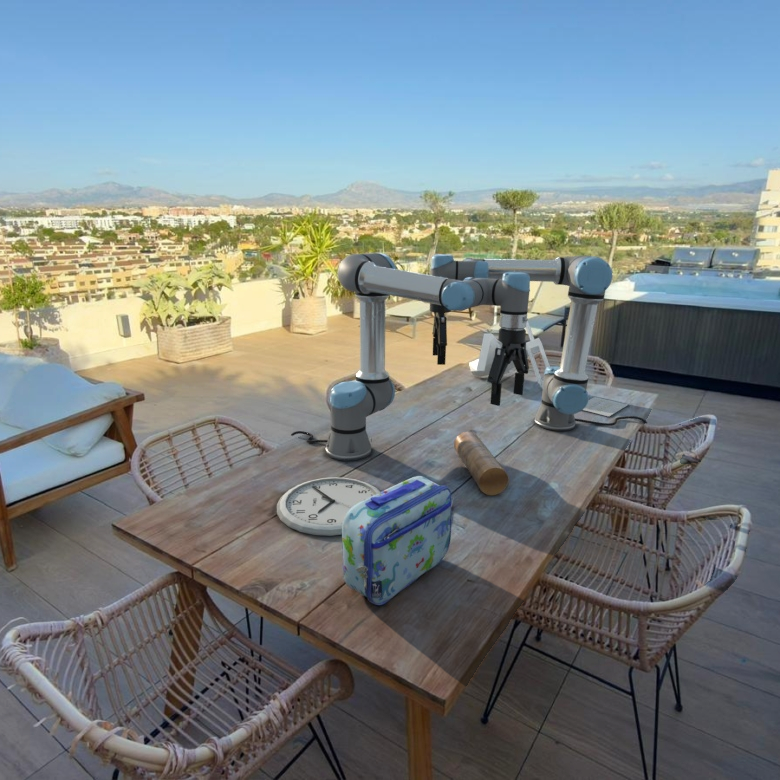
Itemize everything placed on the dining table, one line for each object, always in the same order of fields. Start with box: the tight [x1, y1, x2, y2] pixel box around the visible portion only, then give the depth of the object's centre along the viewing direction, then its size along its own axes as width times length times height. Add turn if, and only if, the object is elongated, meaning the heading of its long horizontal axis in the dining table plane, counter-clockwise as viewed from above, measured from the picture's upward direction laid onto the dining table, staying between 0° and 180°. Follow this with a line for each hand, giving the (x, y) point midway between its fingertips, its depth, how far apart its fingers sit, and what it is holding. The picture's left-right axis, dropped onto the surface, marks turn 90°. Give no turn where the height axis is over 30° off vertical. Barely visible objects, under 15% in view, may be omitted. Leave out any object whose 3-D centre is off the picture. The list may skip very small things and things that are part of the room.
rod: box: [453, 431, 509, 496], centre depth 161 cm, size 27×9×9 cm, turn 8°
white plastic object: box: [468, 320, 551, 390], centre depth 259 cm, size 37×45×31 cm
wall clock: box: [276, 476, 382, 537], centre depth 142 cm, size 30×2×30 cm
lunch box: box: [341, 475, 453, 606], centre depth 111 cm, size 26×11×21 cm, turn 134°
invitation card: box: [582, 396, 629, 418], centre depth 226 cm, size 21×1×15 cm
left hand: (506, 399), depth 155 cm, fingers open, 13 cm apart
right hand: (438, 359), depth 188 cm, fingers open, 13 cm apart
